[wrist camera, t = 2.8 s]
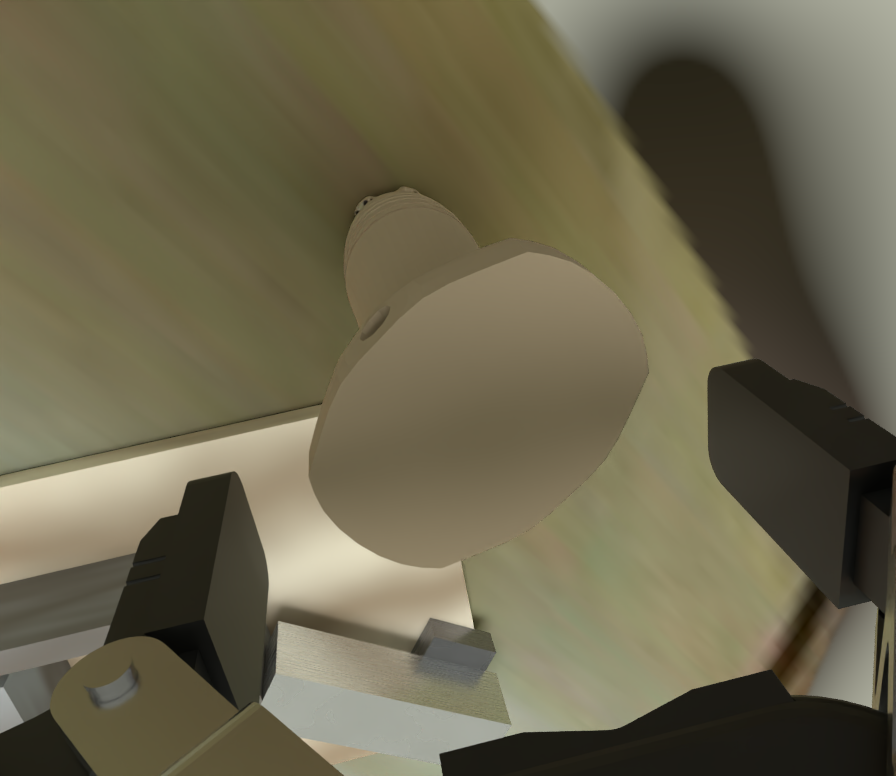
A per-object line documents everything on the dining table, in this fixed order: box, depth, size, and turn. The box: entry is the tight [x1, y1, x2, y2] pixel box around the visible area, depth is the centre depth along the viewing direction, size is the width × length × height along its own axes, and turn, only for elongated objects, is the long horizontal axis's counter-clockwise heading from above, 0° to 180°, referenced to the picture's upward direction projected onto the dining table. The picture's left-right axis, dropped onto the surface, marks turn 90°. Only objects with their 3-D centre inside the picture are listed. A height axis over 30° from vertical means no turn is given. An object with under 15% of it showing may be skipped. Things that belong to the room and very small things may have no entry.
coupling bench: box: [0, 404, 474, 765], centre depth 30 cm, size 18×26×5 cm
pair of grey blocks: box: [261, 618, 511, 765], centre depth 31 cm, size 10×26×4 cm, turn 99°
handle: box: [309, 186, 649, 569], centre depth 20 cm, size 5×6×15 cm
